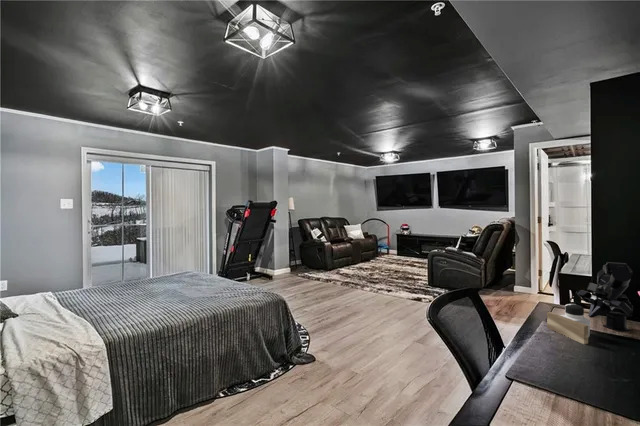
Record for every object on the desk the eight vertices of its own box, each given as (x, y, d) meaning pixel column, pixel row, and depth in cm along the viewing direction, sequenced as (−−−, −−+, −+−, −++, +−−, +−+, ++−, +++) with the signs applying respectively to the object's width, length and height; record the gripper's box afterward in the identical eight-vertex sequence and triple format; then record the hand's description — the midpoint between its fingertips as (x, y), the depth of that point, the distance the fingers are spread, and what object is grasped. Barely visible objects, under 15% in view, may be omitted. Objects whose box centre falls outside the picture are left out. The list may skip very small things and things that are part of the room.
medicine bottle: (590, 336, 128) (590, 307, 128) (575, 338, 127) (575, 308, 127) (573, 330, 135) (573, 302, 135) (558, 331, 134) (559, 303, 134)
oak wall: (551, 328, 137) (551, 312, 137) (588, 343, 122) (588, 325, 121) (547, 328, 137) (547, 312, 137) (583, 344, 121) (583, 326, 121)
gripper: (580, 271, 142) (558, 297, 141) (625, 281, 123) (599, 311, 122) (596, 288, 143) (574, 314, 142) (643, 300, 124) (617, 330, 123)
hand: (589, 316), depth 132 cm, fingers closed
